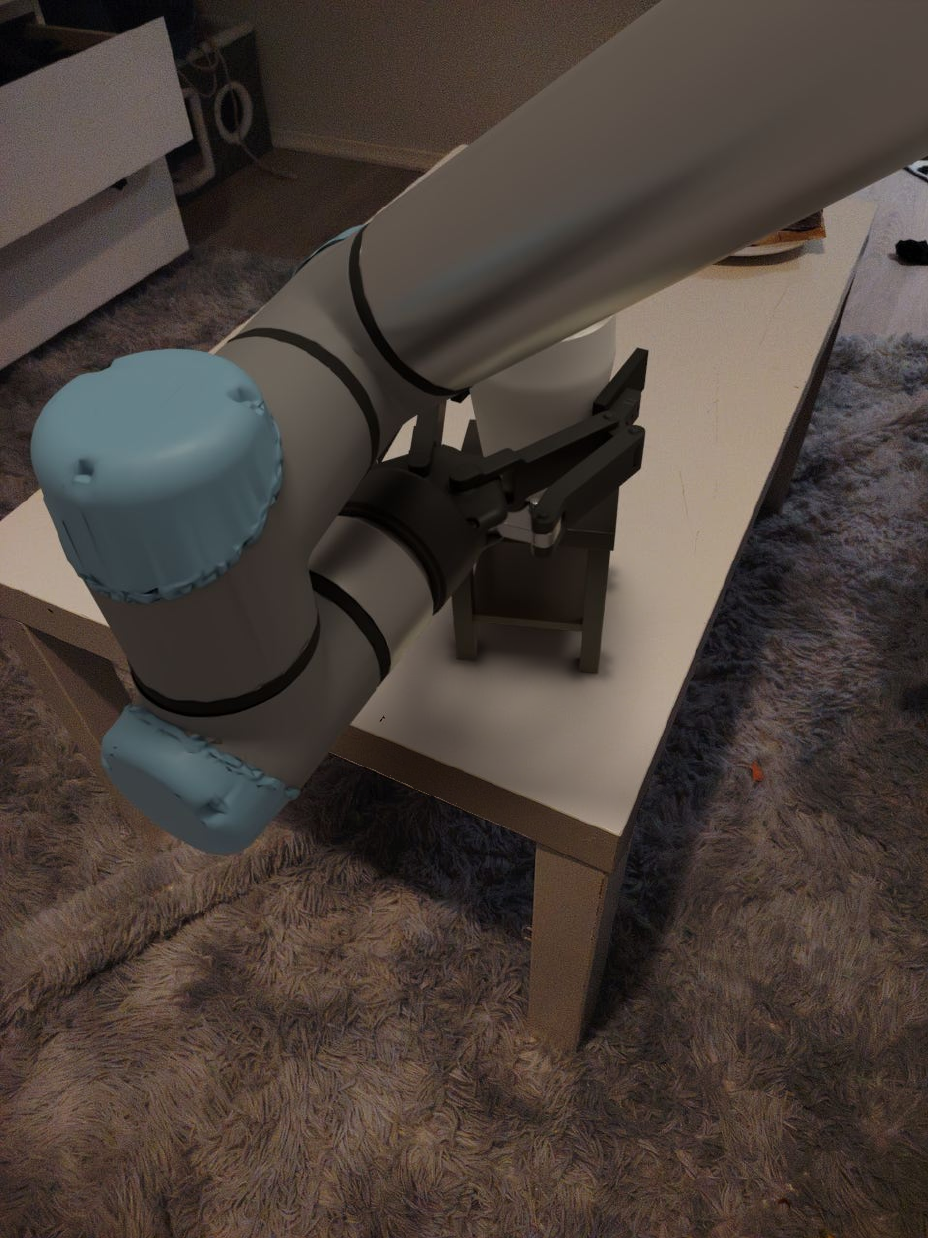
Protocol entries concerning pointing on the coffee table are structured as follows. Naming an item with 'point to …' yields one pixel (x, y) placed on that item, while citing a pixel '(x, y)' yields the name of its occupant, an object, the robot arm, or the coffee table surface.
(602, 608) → the high stand
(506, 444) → the cup
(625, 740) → the coffee table surface
